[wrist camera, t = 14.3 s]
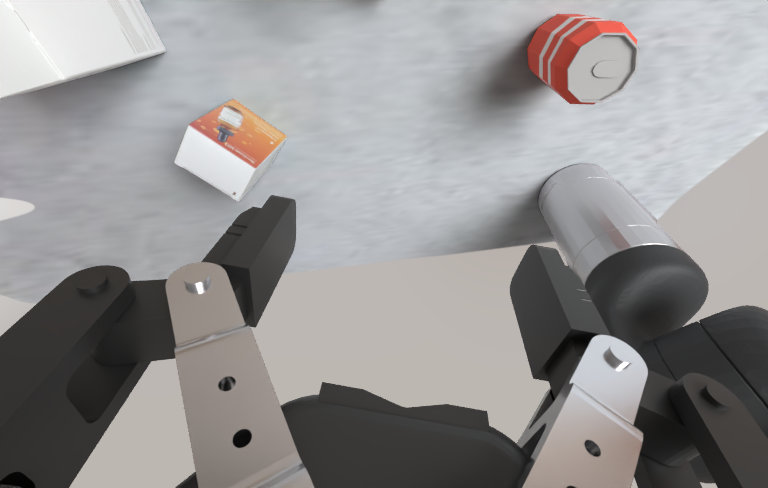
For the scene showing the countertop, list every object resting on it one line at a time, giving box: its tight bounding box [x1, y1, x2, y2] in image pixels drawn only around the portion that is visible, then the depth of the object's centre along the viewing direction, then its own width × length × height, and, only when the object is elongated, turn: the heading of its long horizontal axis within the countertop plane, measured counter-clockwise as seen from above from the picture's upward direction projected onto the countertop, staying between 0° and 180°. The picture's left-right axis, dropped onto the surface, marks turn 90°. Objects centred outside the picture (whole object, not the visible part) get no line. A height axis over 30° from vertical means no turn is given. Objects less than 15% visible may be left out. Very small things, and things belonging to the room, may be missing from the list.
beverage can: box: [527, 14, 639, 104], centre depth 32 cm, size 6×6×12 cm
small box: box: [174, 99, 287, 202], centre depth 42 cm, size 8×6×10 cm
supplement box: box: [0, 0, 166, 99], centre depth 33 cm, size 9×9×15 cm
